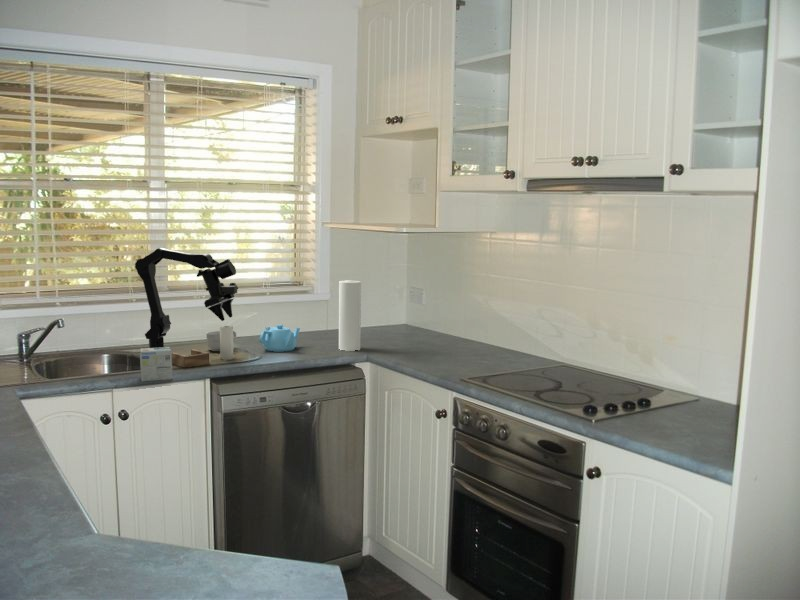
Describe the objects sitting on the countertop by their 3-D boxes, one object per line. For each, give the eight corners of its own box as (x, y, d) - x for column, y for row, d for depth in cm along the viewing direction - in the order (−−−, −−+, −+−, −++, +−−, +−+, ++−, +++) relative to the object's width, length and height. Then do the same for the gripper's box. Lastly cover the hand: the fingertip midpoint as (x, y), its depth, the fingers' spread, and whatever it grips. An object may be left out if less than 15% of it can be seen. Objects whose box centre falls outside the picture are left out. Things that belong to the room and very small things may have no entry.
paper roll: (217, 358, 308) (217, 326, 306) (228, 356, 312) (228, 324, 310) (225, 360, 304) (224, 327, 303) (236, 358, 308) (235, 326, 306)
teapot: (266, 345, 337) (266, 321, 336) (300, 346, 336) (300, 322, 335) (258, 352, 322) (258, 327, 321) (293, 353, 321) (293, 327, 320)
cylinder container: (359, 351, 327) (360, 281, 323) (337, 351, 327) (338, 281, 323) (361, 347, 336) (361, 279, 332) (339, 346, 336) (340, 279, 333)
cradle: (169, 362, 298) (168, 352, 297) (192, 359, 305) (192, 348, 305) (185, 367, 290) (185, 356, 289) (209, 363, 297) (209, 353, 297)
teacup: (213, 353, 317) (213, 334, 316) (201, 349, 325) (201, 331, 324) (243, 350, 326) (243, 331, 324) (231, 346, 334) (231, 328, 333)
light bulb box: (171, 375, 277) (170, 346, 276) (172, 379, 271) (172, 349, 270) (140, 377, 273) (139, 347, 272) (141, 381, 267) (140, 351, 266)
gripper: (222, 278, 301) (237, 315, 302) (238, 274, 319) (252, 309, 320) (197, 288, 302) (212, 325, 304) (214, 283, 321) (228, 318, 322)
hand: (227, 318), depth 312 cm, fingers open, 9 cm apart
